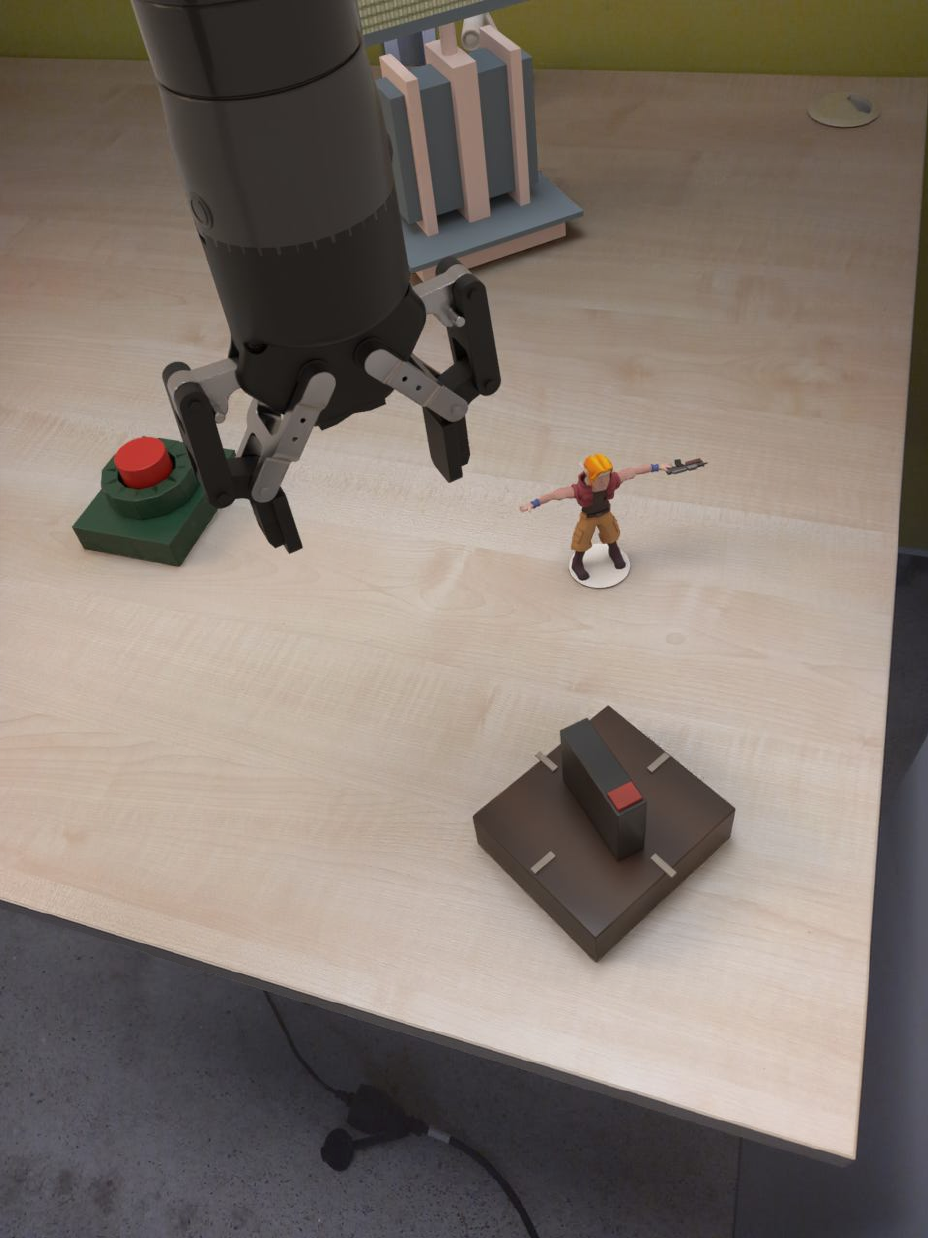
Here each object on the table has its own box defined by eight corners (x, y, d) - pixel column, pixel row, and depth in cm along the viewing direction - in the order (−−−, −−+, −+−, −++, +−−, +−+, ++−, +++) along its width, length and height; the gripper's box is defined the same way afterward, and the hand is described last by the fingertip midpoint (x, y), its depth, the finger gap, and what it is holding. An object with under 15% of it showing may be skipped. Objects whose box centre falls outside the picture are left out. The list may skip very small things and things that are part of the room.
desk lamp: (524, 171, 102) (497, -249, 77) (591, 233, 93) (585, -219, 69) (353, 226, 99) (268, -195, 74) (407, 296, 90) (330, -156, 65)
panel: (601, 968, 50) (600, 943, 48) (473, 839, 55) (466, 810, 53) (736, 841, 54) (742, 811, 51) (603, 730, 59) (603, 698, 57)
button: (157, 492, 71) (148, 474, 70) (113, 485, 72) (104, 466, 71) (182, 458, 73) (174, 439, 72) (139, 452, 74) (130, 433, 73)
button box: (179, 566, 71) (160, 526, 68) (83, 548, 74) (60, 508, 71) (242, 471, 77) (227, 430, 74) (152, 457, 80) (133, 416, 76)
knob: (562, 777, 54) (558, 727, 50) (588, 764, 54) (587, 713, 51) (617, 862, 50) (618, 814, 47) (645, 847, 51) (647, 799, 47)
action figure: (685, 518, 69) (694, 408, 62) (705, 547, 67) (716, 436, 60) (518, 570, 68) (508, 462, 61) (533, 600, 66) (524, 493, 59)
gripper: (419, 91, 41) (462, 411, 54) (78, 207, 38) (208, 519, 50) (511, 161, 37) (535, 493, 49) (133, 299, 33) (260, 617, 46)
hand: (369, 505), depth 50 cm, fingers open, 8 cm apart
